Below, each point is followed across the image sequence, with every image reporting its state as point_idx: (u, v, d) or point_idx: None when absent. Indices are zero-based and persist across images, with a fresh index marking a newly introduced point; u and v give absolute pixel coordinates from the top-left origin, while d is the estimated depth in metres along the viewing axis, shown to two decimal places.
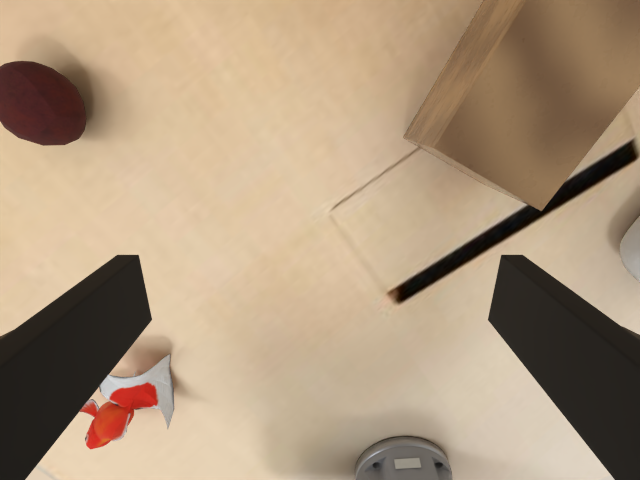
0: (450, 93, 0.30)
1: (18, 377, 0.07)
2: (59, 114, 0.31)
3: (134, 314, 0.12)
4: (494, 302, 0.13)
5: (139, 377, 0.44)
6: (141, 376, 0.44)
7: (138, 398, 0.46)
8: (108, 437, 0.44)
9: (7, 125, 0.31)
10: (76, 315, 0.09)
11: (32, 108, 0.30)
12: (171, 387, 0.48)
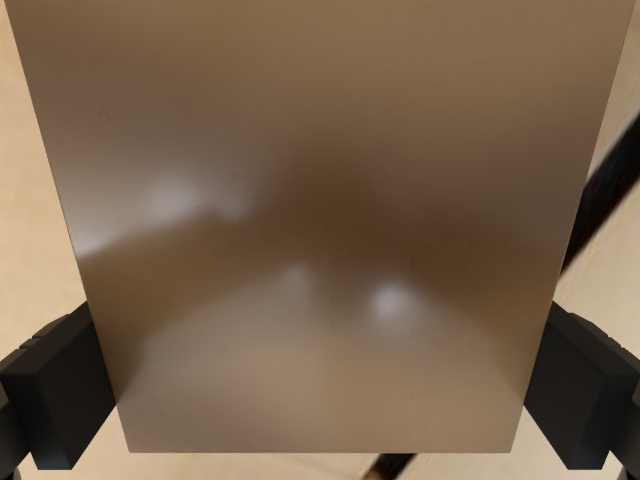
0: None
1: (79, 356, 0.08)
2: None
3: None
4: None
5: None
6: None
7: None
8: None
9: None
10: None
11: None
12: None
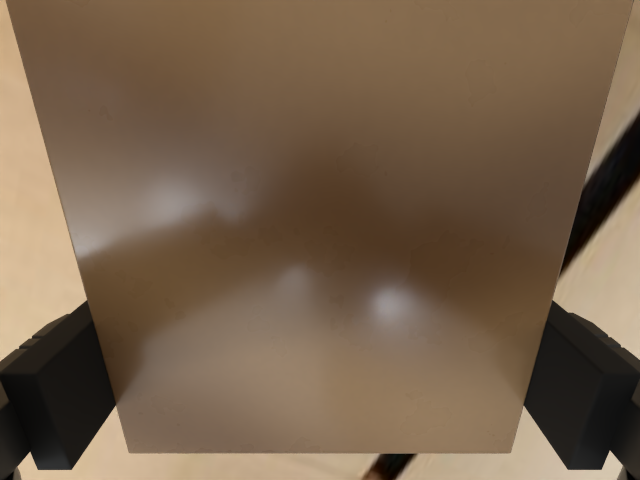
0: None
1: (79, 356, 0.08)
2: None
3: None
4: None
5: None
6: None
7: None
8: None
9: None
10: None
11: None
12: None
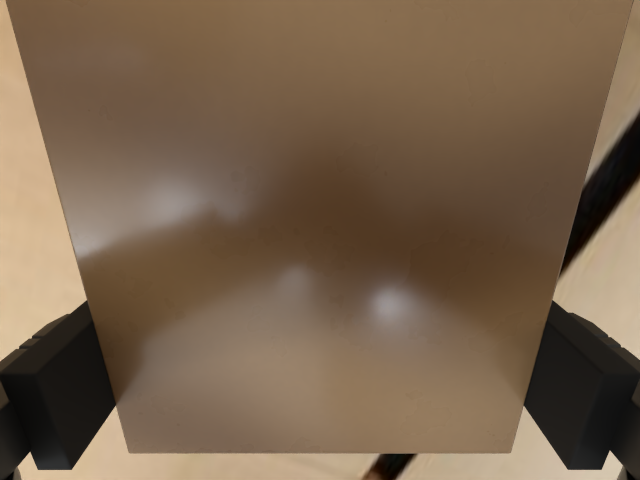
0: None
1: (79, 356, 0.08)
2: None
3: None
4: None
5: None
6: None
7: None
8: None
9: None
10: None
11: None
12: None
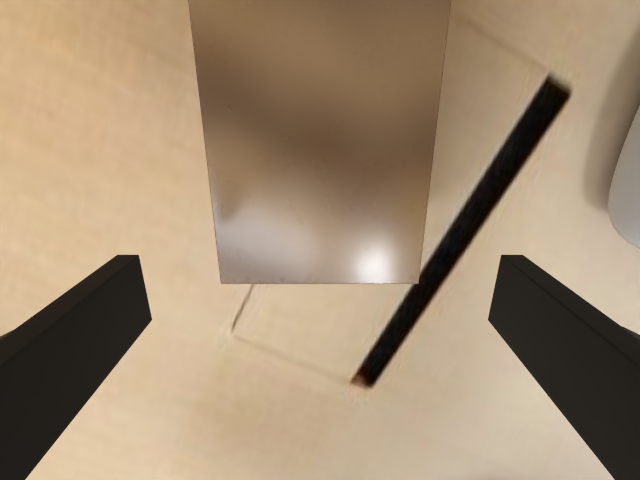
0: None
1: (18, 377, 0.07)
2: None
3: (134, 314, 0.12)
4: (493, 302, 0.13)
5: None
6: None
7: None
8: None
9: None
10: (76, 315, 0.09)
11: None
12: None
